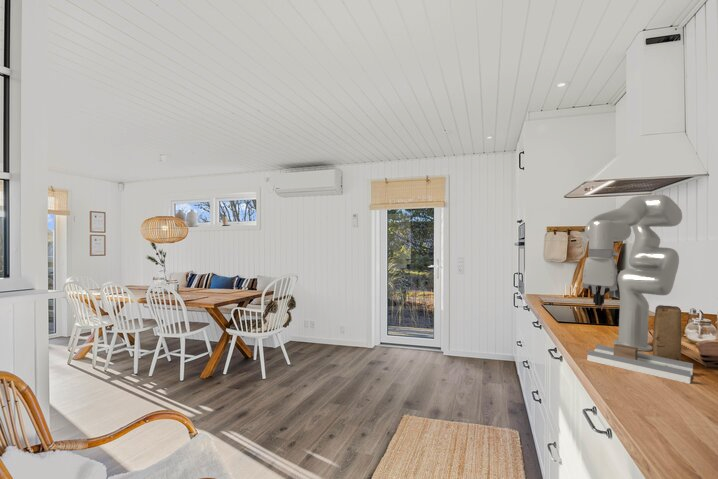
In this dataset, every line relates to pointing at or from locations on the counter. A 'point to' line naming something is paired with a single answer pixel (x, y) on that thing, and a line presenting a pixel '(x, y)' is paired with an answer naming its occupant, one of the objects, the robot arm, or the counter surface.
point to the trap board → (644, 364)
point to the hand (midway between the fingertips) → (598, 305)
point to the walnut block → (626, 351)
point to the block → (667, 332)
